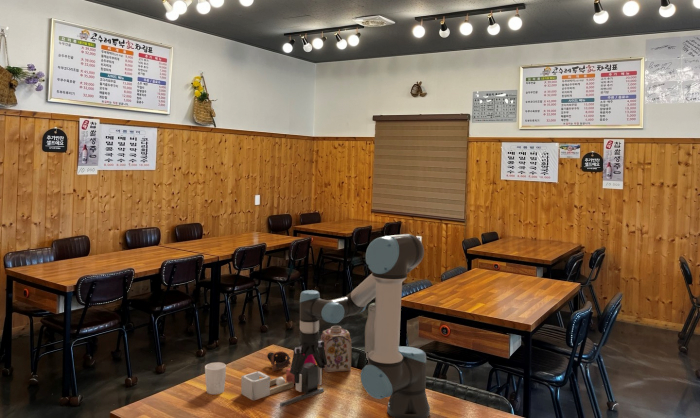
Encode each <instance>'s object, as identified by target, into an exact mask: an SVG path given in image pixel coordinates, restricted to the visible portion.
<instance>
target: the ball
mask: <svg viewBox="0 0 700 418" xmlns="http://www.w3.org/2000/svg"><path fill="white" fill-rule="evenodd" d="M278 377H279V378H278ZM278 377H276V378H277V380H276V384H275V385H276V386H279V385H282V384H285V383H286V378H284V377H283V376H282V377H283V378H282V377H281V376H278Z"/></svg>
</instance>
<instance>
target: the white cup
mask: <svg viewBox="0 0 700 418" xmlns="http://www.w3.org/2000/svg"><path fill="white" fill-rule="evenodd" d="M226 370H227V365H226V364H225V363H224V362H221V361H220V362H219V361H218V362H210V363H207V364H206V365H204V376H205V385H206V386H205V387H206V388H205V389H206V393H207V394H208V395H219V394H222V393H224V392H225V384H226V372H227V371H226Z"/></svg>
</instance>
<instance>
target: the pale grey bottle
mask: <svg viewBox="0 0 700 418" xmlns="http://www.w3.org/2000/svg"><path fill="white" fill-rule="evenodd" d="M367 313H368V314H367V320H366V323H365V327H364V354H365V353H366V358H367V360H368V355H369V353H370V352H371V351H373V344H374V322H375V302H372V303H370V304H368V307H367ZM367 352H368V353H367Z"/></svg>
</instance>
